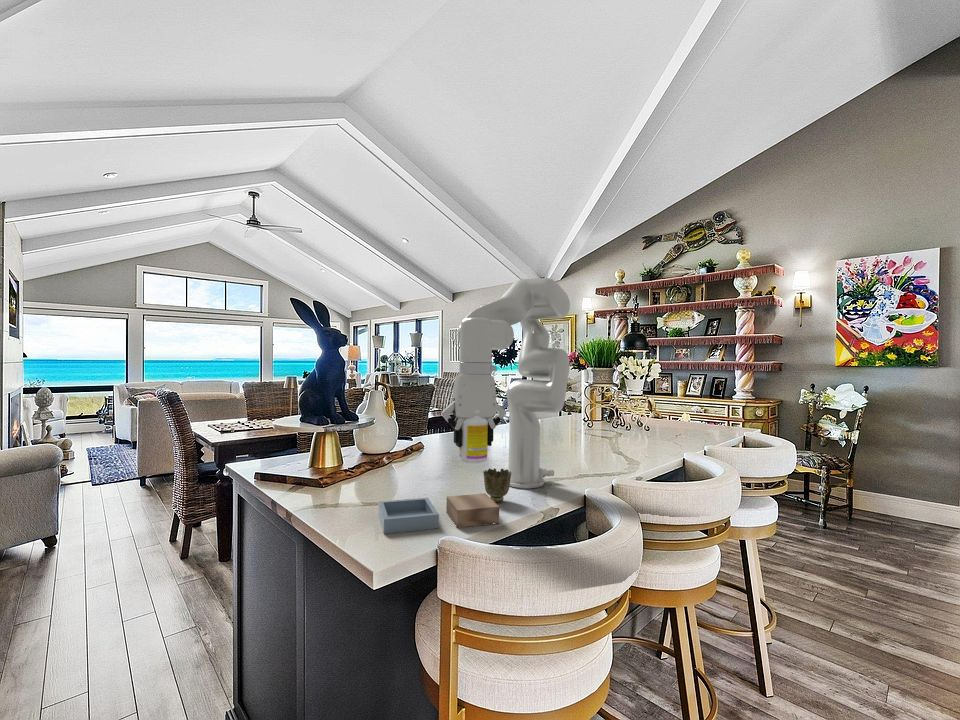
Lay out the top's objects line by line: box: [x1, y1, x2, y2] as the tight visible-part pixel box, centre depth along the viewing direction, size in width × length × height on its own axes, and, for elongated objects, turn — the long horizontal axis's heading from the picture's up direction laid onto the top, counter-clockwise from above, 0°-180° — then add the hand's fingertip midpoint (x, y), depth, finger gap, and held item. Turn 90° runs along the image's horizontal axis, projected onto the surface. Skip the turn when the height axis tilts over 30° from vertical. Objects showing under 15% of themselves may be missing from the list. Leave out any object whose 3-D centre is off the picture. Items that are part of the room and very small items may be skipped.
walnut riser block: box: [445, 493, 500, 528], centre depth 105 cm, size 10×10×4 cm
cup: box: [483, 468, 511, 504], centre depth 118 cm, size 8×7×8 cm
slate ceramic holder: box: [378, 497, 440, 535], centre depth 102 cm, size 12×12×3 cm
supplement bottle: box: [458, 410, 488, 464], centre depth 105 cm, size 7×7×13 cm
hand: (473, 444), depth 105 cm, fingers closed on supplement bottle, 6 cm apart
